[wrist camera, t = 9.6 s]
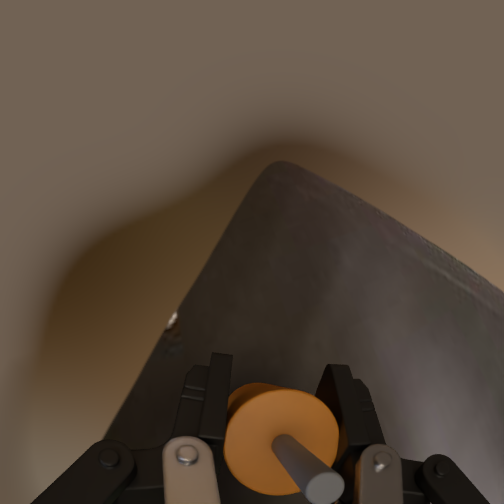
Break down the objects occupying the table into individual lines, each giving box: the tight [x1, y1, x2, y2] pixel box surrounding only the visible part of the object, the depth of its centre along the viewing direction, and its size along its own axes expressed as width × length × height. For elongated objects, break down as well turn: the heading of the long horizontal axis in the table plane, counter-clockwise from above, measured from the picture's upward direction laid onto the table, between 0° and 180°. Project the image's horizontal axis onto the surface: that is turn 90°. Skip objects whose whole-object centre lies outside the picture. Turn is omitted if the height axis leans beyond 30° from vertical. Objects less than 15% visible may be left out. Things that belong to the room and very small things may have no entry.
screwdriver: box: [223, 383, 344, 504], centre depth 9 cm, size 3×3×11 cm
